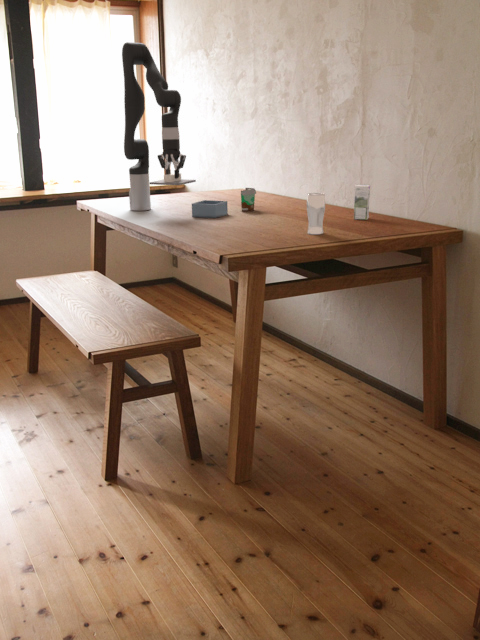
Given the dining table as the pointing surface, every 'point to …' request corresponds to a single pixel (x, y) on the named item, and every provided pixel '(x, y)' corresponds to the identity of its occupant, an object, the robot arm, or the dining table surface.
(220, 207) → the dish
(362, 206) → the syrup box
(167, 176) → the lid
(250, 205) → the food container
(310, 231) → the beer glass
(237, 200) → the dining table surface
